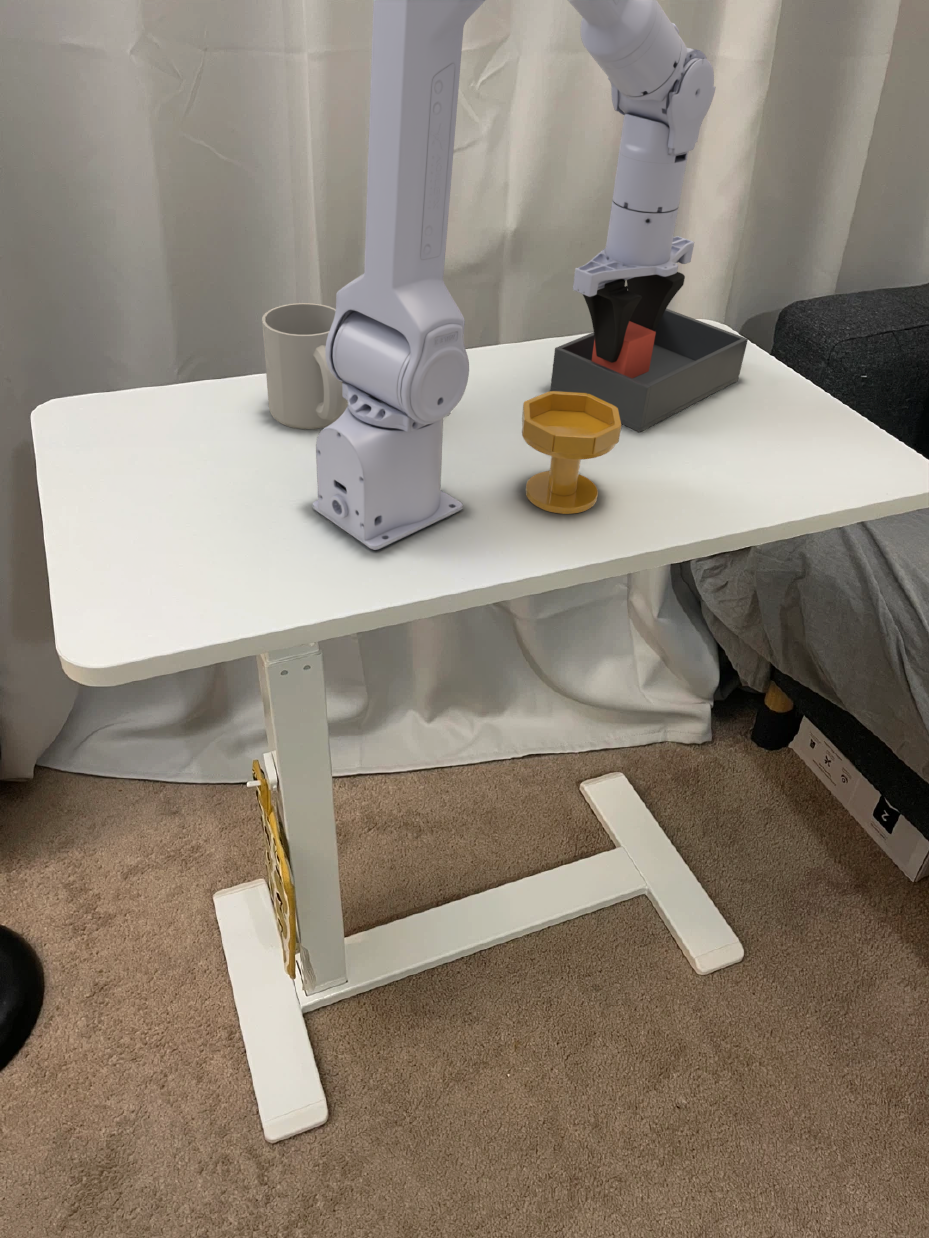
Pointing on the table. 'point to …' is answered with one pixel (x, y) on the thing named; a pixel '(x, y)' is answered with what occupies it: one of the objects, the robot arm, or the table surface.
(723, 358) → the bin
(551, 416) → the bowl
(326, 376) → the cup
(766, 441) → the table surface
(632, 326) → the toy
